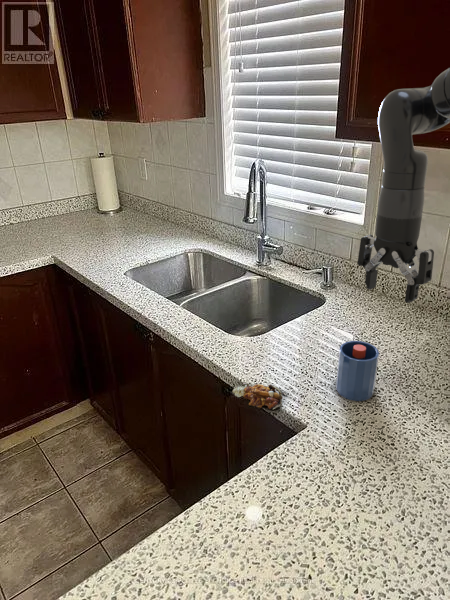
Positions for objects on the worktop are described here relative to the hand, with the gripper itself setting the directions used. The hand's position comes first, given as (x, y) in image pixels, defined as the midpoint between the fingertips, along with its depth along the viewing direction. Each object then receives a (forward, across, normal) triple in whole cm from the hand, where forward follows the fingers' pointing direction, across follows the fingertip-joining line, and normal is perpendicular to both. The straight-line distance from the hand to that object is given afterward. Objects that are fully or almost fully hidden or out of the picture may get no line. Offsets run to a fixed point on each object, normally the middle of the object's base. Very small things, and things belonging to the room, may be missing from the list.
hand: (389, 294), depth 86 cm
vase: (+26, +6, 0) cm, 27 cm away
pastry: (+26, +18, +18) cm, 37 cm away
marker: (+26, +6, 0) cm, 26 cm away
